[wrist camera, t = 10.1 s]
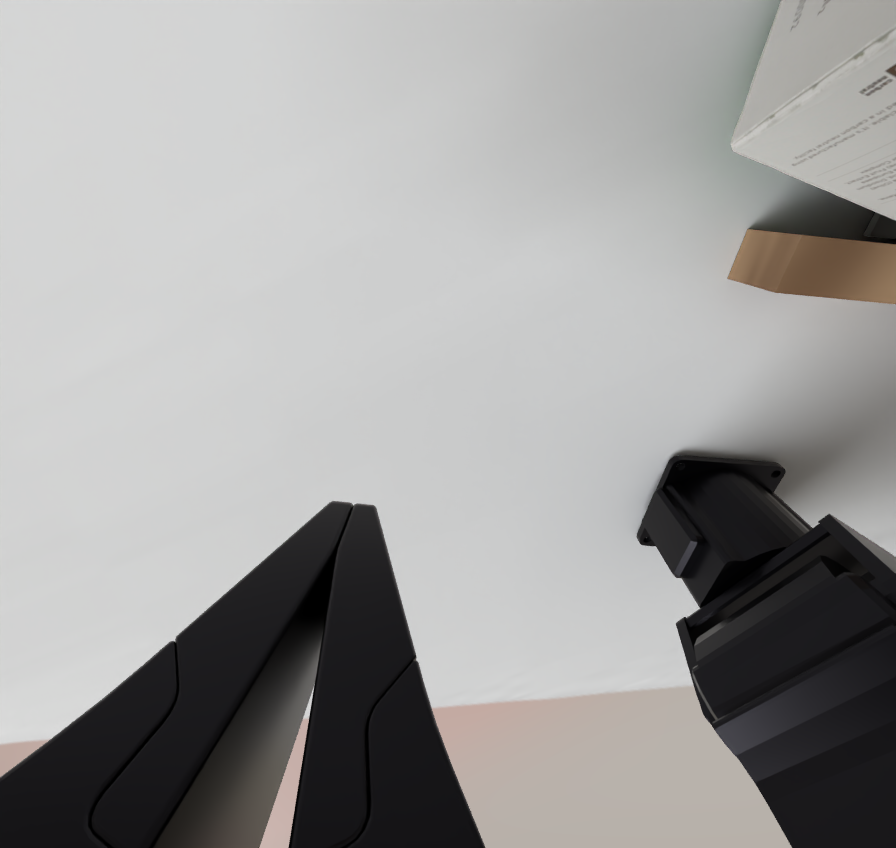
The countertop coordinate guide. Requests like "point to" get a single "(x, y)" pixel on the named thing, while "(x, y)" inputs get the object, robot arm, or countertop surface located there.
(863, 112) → the skincare box
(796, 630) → the robot arm
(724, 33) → the countertop surface
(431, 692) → the countertop surface
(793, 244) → the wooden tray
